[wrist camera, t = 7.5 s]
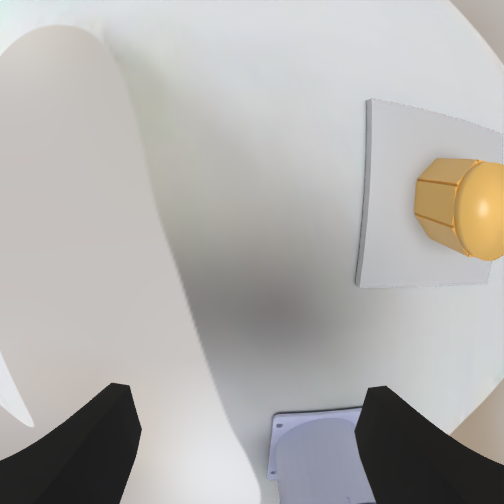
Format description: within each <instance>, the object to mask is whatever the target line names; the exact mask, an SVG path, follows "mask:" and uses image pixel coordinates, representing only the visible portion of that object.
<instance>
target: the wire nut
mask: <svg viewBox="0 0 504 504" xmlns="http://www.w3.org/2000/svg"><path fill="white" fill-rule="evenodd" d="M417 179H418V180H419V181H416V190H415V203H414V213H416V214H415V217H416V218H417V220H418V222H419V223H420V225H421V226H422V228H423V229H424V231H425V232H426V234H427V235H428V237H429V238H430V239H432V240H434V241H436V242H438V243H440V244H442V245H445V246H447V247H449V248H451V249H453V250H455V251H457V252H459V253H461V254H463V255H465V256H467V257H477V258H479V259H481V260H484V261H493V260H496V259H498V258H500V257H501V256H503V255H504V165H502V164H500V163H494V162H486V161H482V160H478V159H450V158H438V159H435V160H434V161H433V162H432V163H431V164H430V165H429V167H428V168H427V169H426V170H425V171H424V172H423V173H422V174H421V175H420V176H419V177H418V178H417Z"/></svg>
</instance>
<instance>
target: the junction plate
mask: <svg viewBox="0 0 504 504" xmlns="http://www.w3.org/2000/svg"><path fill="white" fill-rule="evenodd" d="M438 158H450V159H478V160H482V161H486V162H494V163H500V164H502V165H503V134H502V133H499V132H496V131H494V130H491V129H488V128H485V127H482V126H479V125H476V124H473V123H470V122H467V121H464V120H461V119H457V118H454V117H451V116H447V115H443V114H440V113H436V112H432V111H428V110H424V109H420V108H416V107H412V106H407V105H403V104H398V103H393V102H388V101H383V100H378V99H372V98H371V99H369V100H367V138H366V171H365V190H364V205H363V217H362V229H361V239H360V249H359V258H358V266H357V274H356V281H355V284H356V285H357V286H358V287H359V288H394V287H428V286H453V285H474V284H487V283H488V279H489V274H490V269H491V265H492V261H484V260H481V259H479V258H477V257H467V256H465V255H463V254H461V253H459V252H457V251H455V250H453V249H451V248H449V247H447V246H445V245H442V244H440V243H438V242H436V241H434V240H432V239H430V238H429V237H428V235H427V234H426V232H425V231H424V229H423V228H422V226H421V225H420V223H419V222H418V220H417V218H416V217H415V214H416V213H414V203H415V190H416V181H419V180H418V179H417V178H418V177H419V176H420V175H421V174H422V173H423V172H424V171H425V170H426V169H427V168H428V167H429V165H430V164H431V163H432V162H433V161H434V160H435V159H438Z"/></svg>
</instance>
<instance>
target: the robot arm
mask: <svg viewBox="0 0 504 504" xmlns="http://www.w3.org/2000/svg"><path fill="white" fill-rule="evenodd" d="M279 423H280V424H279ZM141 430H142V428H141V425H140V422H139V419H138V415H137V412H136V408H135V405H134V401H133V397H132V393H131V390H130V386H129V385H123V384H117V383H111V384H110V385H108V386H107V387H106V388H105V389H103V390H102V391H101V392H100V393H99V394H98V395H96V396H95V397H94V398H93V399H92V400H90V401H89V402H88V403H87V404H86V405H85V406H83V407H82V408H81V409H80V410H78V411H77V412H76V413H75V414H74V415H73V416H71V417H70V418H69V419H67V420H66V421H65V422H64V423H62V424H61V425H59V426H58V427H57V428H55V429H54V430H53V431H51V432H50V433H49V434H47V435H46V436H44V437H43V438H41V439H40V440H38V441H37V442H35V443H33V444H32V445H30V446H28V447H27V448H25V449H23V450H21V451H20V452H18V453H16V454H14V455H12V456H10V457H8V458H5V459H3V460H1V461H0V504H119V503H120V500H121V497H122V495H123V492H124V489H125V486H126V483H127V481H128V478H129V475H130V472H131V469H132V466H133V464H134V461H135V458H136V454H137V450H138V445H139V440H140V435H141ZM267 479H269V480H278V486H279V497H280V504H504V465H502V464H499V463H497V462H495V461H492V460H490V459H488V458H486V457H484V456H482V455H480V454H478V453H476V452H474V451H473V450H471V449H469V448H467V447H466V446H464V445H462V444H461V443H459V442H458V441H456V440H455V439H453V438H452V437H450V436H449V435H447V434H446V433H444V432H443V431H442V430H440V429H439V428H438V427H436V426H435V425H434V424H432V423H431V422H430V421H428V420H427V419H426V418H425V417H423V416H422V415H421V414H420V413H419V412H417V411H416V410H415V409H414V408H412V407H411V406H410V405H409V404H408V403H406V402H405V401H404V400H403V399H402V398H400V397H399V396H398V395H397V394H396V393H394V392H393V391H392V390H391V389H389V388H388V387H387V386H380V387H372V388H368V391H367V394H366V397H365V400H364V403H363V407H362V408H356V409H347V410H337V411H326V412H312V413H294V414H277V415H275V416H274V417H273V424H272V434H271V443H270V452H269V461H268V470H267Z"/></svg>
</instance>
